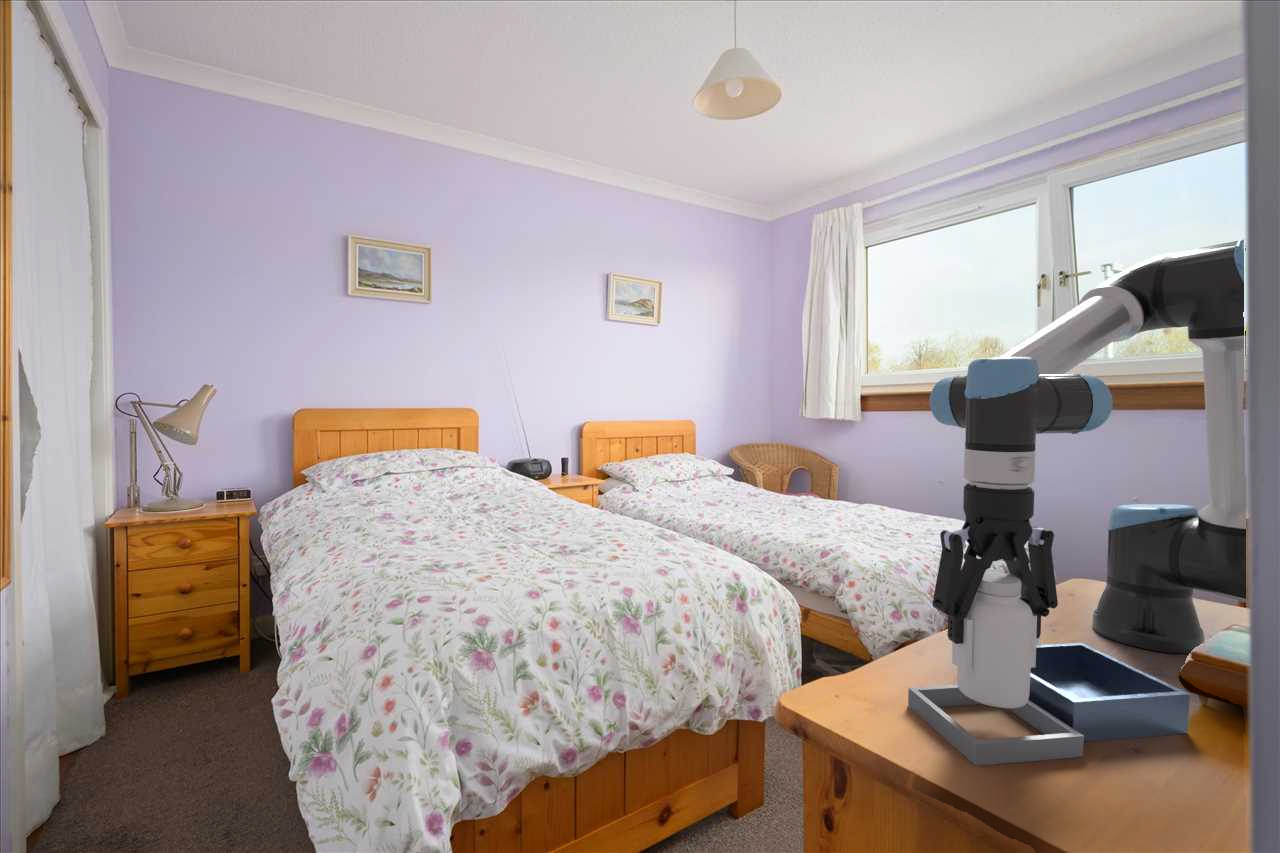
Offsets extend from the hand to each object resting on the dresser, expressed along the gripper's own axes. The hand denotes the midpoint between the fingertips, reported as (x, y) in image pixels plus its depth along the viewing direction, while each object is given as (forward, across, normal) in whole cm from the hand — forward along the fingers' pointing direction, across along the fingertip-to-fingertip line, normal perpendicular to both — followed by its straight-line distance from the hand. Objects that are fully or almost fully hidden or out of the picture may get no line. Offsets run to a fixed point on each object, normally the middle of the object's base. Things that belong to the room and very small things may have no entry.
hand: (993, 664), depth 78 cm
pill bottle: (+4, 0, 0) cm, 4 cm away
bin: (+8, +16, +4) cm, 18 cm away
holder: (+8, 0, 0) cm, 8 cm away
